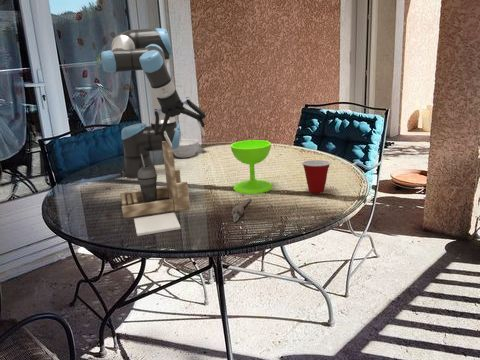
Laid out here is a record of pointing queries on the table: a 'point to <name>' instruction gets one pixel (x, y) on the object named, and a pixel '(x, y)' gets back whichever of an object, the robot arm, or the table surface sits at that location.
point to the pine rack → (162, 192)
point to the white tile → (156, 224)
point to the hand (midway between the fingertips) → (187, 140)
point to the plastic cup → (316, 175)
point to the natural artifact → (239, 210)
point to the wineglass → (251, 164)
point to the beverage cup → (147, 183)
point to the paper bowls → (186, 148)
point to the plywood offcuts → (129, 199)
